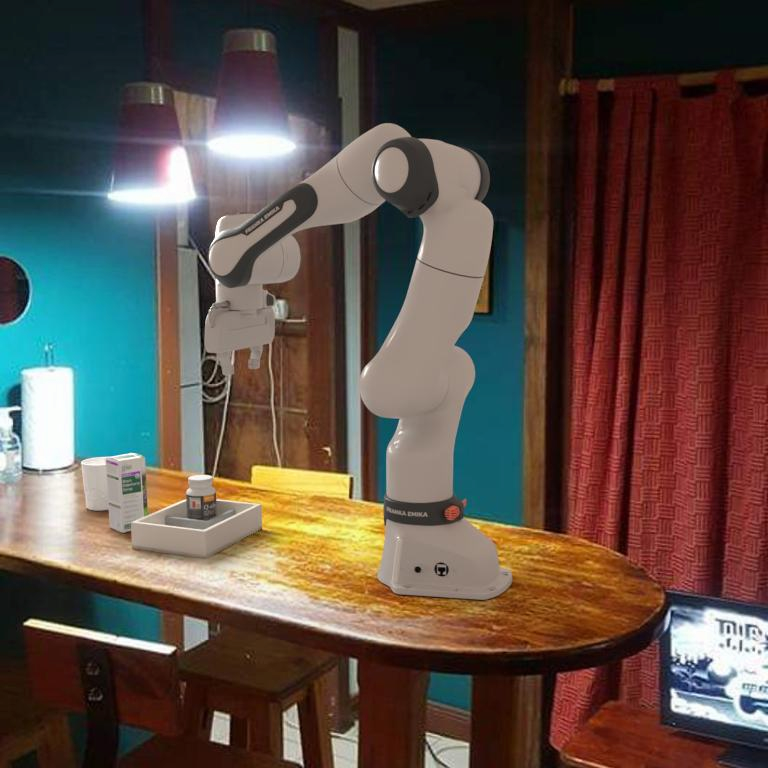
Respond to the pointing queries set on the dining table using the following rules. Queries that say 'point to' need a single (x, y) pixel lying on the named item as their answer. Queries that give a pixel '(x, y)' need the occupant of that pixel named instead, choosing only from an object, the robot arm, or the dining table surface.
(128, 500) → the syrup box
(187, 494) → the pill bottle
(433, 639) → the dining table surface
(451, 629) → the dining table surface
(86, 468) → the white cup
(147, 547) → the box
